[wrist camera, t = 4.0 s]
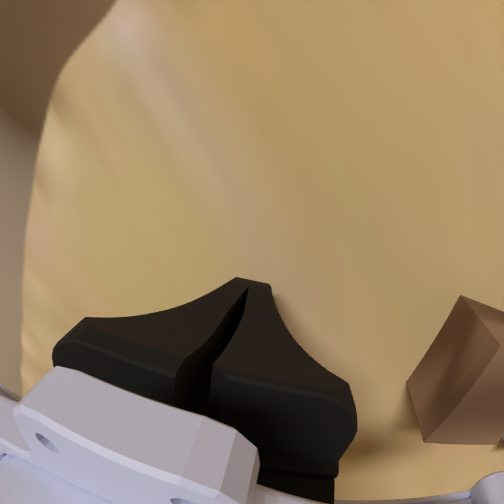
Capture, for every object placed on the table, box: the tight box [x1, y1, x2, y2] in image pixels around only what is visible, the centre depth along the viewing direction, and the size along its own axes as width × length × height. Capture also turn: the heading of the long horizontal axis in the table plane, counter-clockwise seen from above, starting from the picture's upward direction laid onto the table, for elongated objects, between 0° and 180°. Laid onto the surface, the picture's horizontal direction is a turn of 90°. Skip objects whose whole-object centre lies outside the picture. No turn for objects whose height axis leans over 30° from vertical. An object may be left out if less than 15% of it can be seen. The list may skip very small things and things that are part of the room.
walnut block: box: [406, 295, 504, 445], centre depth 10 cm, size 5×5×4 cm
